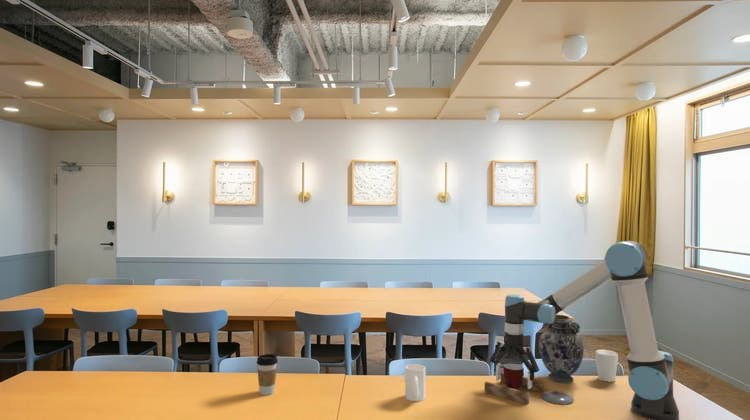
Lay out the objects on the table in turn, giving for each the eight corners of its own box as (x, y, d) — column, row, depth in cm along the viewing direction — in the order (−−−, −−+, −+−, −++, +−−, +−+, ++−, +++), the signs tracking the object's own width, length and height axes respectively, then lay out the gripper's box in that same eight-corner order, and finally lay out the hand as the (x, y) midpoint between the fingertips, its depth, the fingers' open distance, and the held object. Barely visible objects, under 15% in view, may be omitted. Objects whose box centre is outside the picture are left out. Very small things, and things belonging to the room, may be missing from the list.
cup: (597, 381, 199) (597, 354, 199) (593, 374, 207) (593, 348, 207) (620, 384, 196) (620, 356, 196) (615, 376, 205) (615, 350, 205)
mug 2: (526, 397, 181) (526, 372, 181) (505, 396, 182) (505, 371, 182) (521, 387, 191) (521, 364, 192) (502, 386, 193) (502, 363, 193)
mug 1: (403, 405, 173) (404, 373, 173) (405, 392, 185) (405, 363, 185) (425, 406, 172) (425, 374, 172) (425, 393, 184) (425, 364, 184)
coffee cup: (251, 394, 183) (252, 357, 183) (266, 387, 190) (266, 351, 190) (267, 398, 179) (268, 360, 179) (281, 390, 186) (282, 354, 186)
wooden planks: (543, 391, 188) (543, 381, 188) (527, 404, 174) (527, 394, 174) (502, 380, 199) (502, 371, 199) (484, 392, 186) (484, 382, 186)
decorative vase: (596, 384, 195) (595, 319, 196) (563, 390, 189) (562, 323, 189) (559, 368, 215) (558, 310, 215) (528, 374, 208) (527, 313, 209)
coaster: (577, 397, 181) (577, 396, 181) (568, 407, 172) (568, 406, 172) (547, 390, 189) (547, 388, 189) (537, 398, 180) (537, 397, 180)
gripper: (547, 336, 182) (547, 388, 182) (490, 325, 198) (489, 374, 198) (541, 340, 176) (540, 394, 176) (482, 329, 192) (481, 378, 192)
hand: (513, 383), depth 187 cm, fingers open, 13 cm apart
